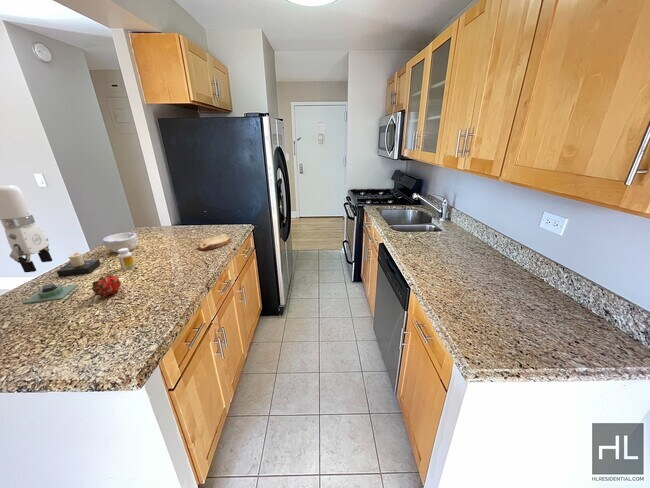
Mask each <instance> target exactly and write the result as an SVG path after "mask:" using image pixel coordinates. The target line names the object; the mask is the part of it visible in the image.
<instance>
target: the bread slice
mask: <svg viewBox="0 0 650 488" xmlns="http://www.w3.org/2000/svg"><path fill="white" fill-rule="evenodd" d="M231 241H232V239H231V236H229V235H227V234H220V235H215V236H212V237H209V238H206V239H202V240H201V241H199V243H198V245H197V249H198V250H199V251H209V250H215V249H218V248H222V247H224V246H225V245H228V244H229V243H230V242H231Z"/></svg>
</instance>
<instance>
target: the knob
mask: <svg viewBox="0 0 650 488" xmlns="http://www.w3.org/2000/svg"><path fill="white" fill-rule="evenodd" d="M68 259H69V262H71V264H72V266H73V267H78V266H81V265H84V264H85V263H84V261H85V260H84V258H83V255H82V253H79V252H75V253H73V254H70V255H68Z"/></svg>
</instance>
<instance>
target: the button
mask: <svg viewBox="0 0 650 488" xmlns="http://www.w3.org/2000/svg"><path fill="white" fill-rule="evenodd" d="M55 285H56V284H55V283H49V284H46V285H44V286H42V287H41V289H42V290H43V292H49V291H53V290H55V289H56V286H55Z"/></svg>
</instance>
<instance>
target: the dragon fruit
mask: <svg viewBox="0 0 650 488" xmlns="http://www.w3.org/2000/svg"><path fill="white" fill-rule="evenodd" d="M121 285H122V281H121V280H120V279H119V276H117V275H115V274H114V275H111V274H106V275H105V276H101V277H99V278H98V279H97V280H95V281H93V282H92V287H91V290H92V292H93V293H94V296H100V297H101V298H103V297H106V298H107V297H109V296H110V295H115V294H117V293H118V291H119V290H120V287H121Z"/></svg>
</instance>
